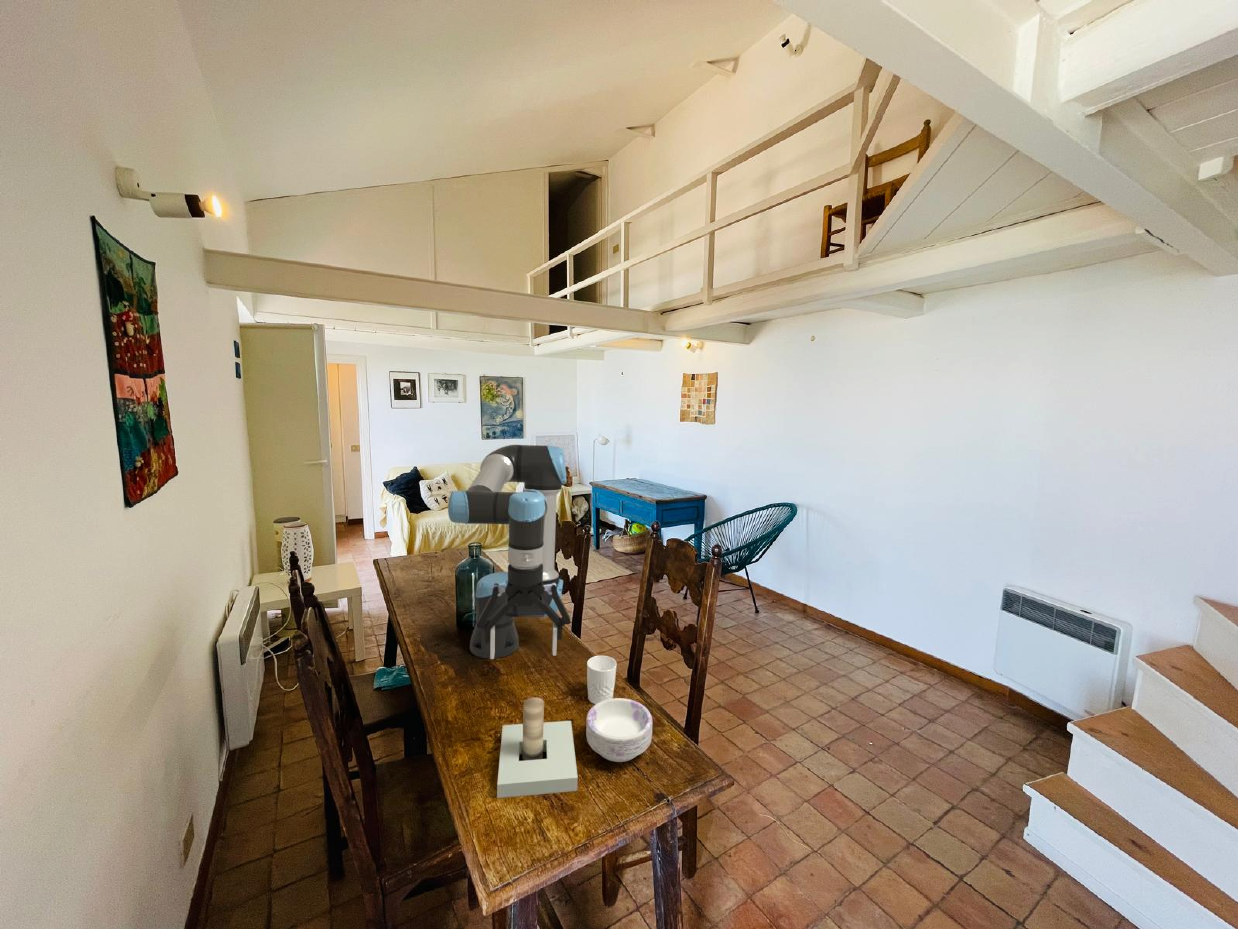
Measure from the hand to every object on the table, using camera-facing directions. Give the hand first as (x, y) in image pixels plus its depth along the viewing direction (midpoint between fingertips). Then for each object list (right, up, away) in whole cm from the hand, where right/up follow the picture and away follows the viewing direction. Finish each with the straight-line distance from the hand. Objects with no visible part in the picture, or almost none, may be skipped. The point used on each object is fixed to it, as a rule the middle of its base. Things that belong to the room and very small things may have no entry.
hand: (523, 654), depth 110 cm
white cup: (+16, -21, +23) cm, 35 cm away
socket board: (+3, -23, -2) cm, 23 cm away
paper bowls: (+21, -23, +4) cm, 32 cm away
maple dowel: (+2, -23, -2) cm, 23 cm away
